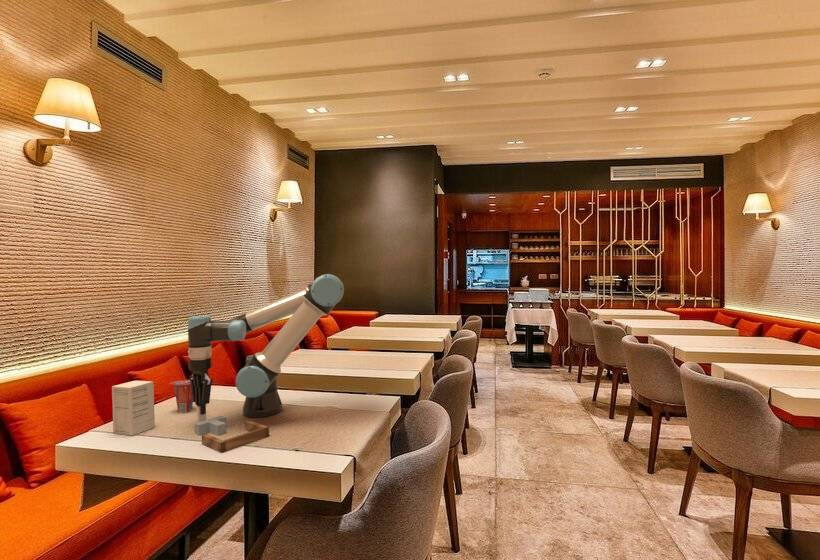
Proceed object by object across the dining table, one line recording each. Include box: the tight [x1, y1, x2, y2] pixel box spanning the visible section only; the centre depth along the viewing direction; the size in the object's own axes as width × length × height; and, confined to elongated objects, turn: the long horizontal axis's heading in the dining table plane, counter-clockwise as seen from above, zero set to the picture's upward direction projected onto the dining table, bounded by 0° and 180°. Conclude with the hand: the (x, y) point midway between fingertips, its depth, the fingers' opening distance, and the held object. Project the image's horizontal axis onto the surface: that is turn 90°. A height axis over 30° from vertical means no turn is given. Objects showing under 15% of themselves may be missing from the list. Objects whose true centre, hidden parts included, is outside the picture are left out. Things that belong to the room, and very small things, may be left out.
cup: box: [168, 379, 194, 414], centre depth 174 cm, size 9×8×12 cm
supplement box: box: [111, 380, 156, 437], centre depth 152 cm, size 10×9×17 cm
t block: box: [194, 415, 227, 437], centre depth 149 cm, size 9×10×4 cm
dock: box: [201, 420, 270, 454], centre depth 141 cm, size 12×17×3 cm
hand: (201, 422), depth 155 cm, fingers closed
